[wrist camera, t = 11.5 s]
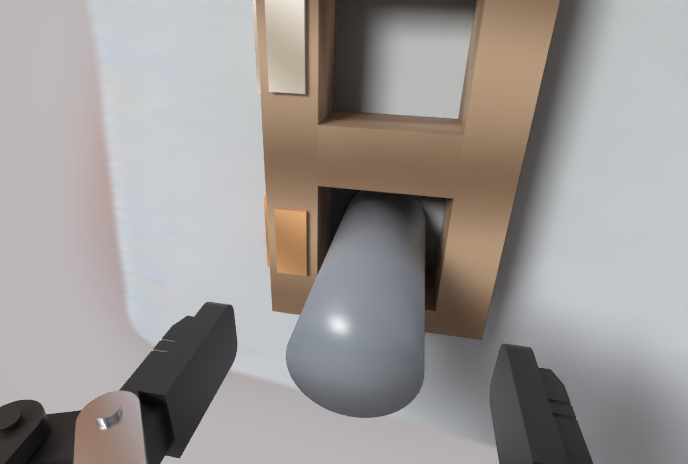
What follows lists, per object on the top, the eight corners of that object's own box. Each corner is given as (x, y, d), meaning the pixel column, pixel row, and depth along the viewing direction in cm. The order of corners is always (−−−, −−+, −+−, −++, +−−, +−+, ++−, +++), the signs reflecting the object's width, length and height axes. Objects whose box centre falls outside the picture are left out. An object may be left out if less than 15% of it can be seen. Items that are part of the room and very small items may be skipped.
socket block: (271, -73, 16) (239, -93, 13) (553, -72, 15) (583, -94, 12) (284, 277, 23) (265, 312, 21) (475, 301, 22) (482, 342, 19)
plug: (346, 180, 20) (283, 301, 11) (429, 188, 20) (432, 321, 11) (343, 253, 22) (287, 405, 13) (420, 262, 22) (415, 427, 13)
